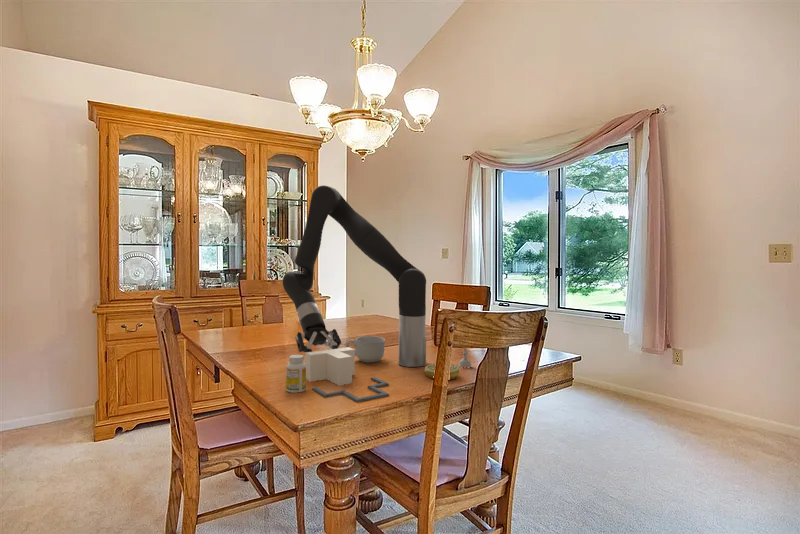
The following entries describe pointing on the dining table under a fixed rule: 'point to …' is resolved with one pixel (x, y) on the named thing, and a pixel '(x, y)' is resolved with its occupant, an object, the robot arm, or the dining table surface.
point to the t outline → (356, 399)
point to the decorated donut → (430, 369)
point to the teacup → (368, 348)
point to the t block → (330, 365)
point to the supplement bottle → (296, 374)
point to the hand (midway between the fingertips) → (325, 359)
